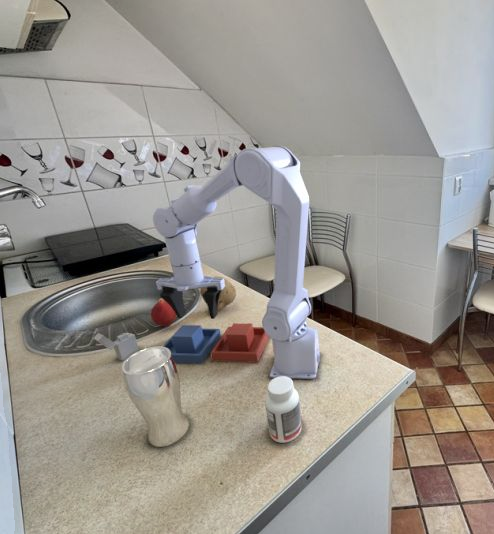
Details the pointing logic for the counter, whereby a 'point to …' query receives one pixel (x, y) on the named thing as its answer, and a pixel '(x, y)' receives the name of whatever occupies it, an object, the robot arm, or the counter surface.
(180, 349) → the blue block
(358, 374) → the counter surface
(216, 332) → the blue tray
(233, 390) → the counter surface
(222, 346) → the red tray
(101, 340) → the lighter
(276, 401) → the pill bottle
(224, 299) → the potato
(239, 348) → the red block
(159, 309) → the onion
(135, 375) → the beer glass
